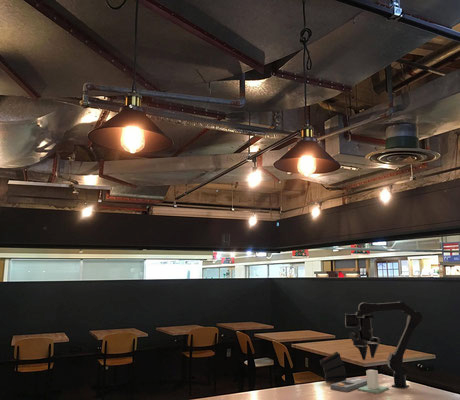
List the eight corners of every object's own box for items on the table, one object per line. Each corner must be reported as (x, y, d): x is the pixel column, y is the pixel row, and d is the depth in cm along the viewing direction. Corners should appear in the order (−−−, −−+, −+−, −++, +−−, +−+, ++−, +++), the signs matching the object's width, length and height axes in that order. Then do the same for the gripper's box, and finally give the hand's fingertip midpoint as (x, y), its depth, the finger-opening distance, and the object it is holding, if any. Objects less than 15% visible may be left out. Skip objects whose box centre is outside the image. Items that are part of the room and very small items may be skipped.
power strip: (358, 380, 231) (358, 375, 231) (374, 382, 225) (373, 377, 225) (330, 389, 211) (330, 383, 212) (347, 391, 205) (346, 385, 206)
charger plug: (371, 386, 211) (370, 369, 213) (379, 387, 209) (377, 370, 210) (367, 388, 209) (366, 370, 210) (375, 389, 206) (373, 371, 208)
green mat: (369, 386, 216) (369, 384, 216) (388, 389, 209) (388, 387, 209) (357, 390, 208) (357, 388, 208) (377, 393, 201) (377, 391, 201)
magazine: (352, 378, 227) (338, 352, 230) (331, 390, 226) (317, 363, 229) (350, 377, 231) (337, 351, 234) (329, 388, 230) (316, 362, 233)
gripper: (360, 325, 235) (362, 355, 231) (342, 327, 222) (344, 359, 218) (379, 326, 227) (382, 357, 224) (362, 328, 214) (365, 361, 211)
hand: (368, 358), depth 219 cm, fingers open, 9 cm apart
